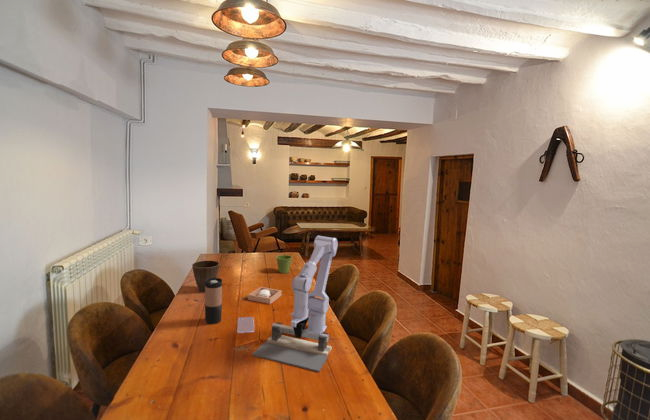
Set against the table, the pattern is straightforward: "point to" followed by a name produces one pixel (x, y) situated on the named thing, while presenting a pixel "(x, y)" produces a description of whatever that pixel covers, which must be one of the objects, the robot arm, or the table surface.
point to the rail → (304, 332)
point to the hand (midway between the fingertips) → (299, 335)
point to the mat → (291, 356)
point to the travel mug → (213, 300)
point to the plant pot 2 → (283, 263)
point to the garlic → (264, 293)
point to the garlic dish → (254, 297)
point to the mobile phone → (245, 325)
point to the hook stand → (299, 342)
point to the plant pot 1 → (204, 272)
